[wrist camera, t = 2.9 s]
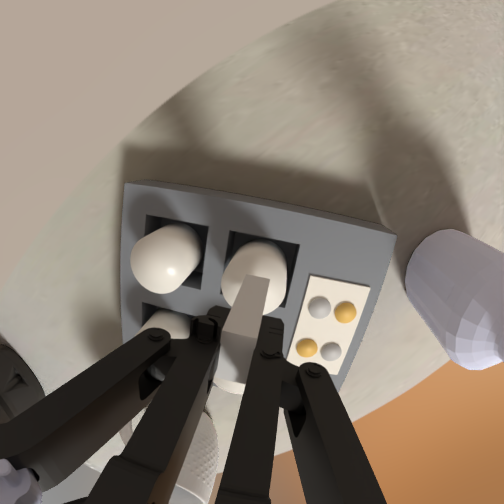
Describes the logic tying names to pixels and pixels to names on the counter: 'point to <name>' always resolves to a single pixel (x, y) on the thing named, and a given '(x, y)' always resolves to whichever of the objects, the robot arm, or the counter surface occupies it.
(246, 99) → the counter surface
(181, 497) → the mug
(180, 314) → the button
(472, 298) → the soap bottle
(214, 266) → the button board
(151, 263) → the button
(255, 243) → the button
